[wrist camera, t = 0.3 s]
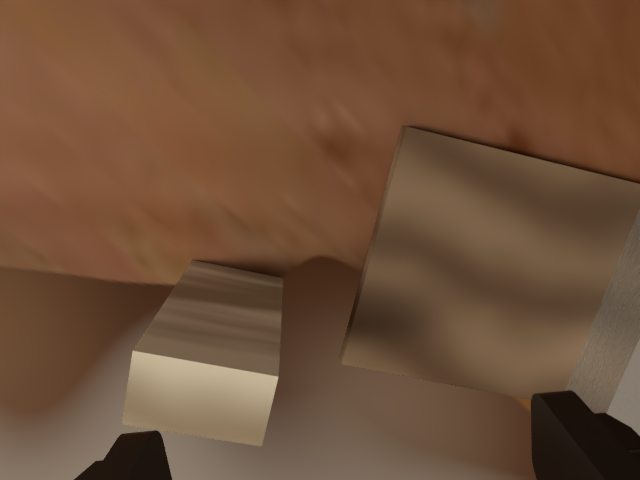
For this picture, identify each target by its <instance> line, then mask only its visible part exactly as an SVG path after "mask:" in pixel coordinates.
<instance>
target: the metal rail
mask: <svg viewBox="0 0 640 480" xmlns="http://www.w3.org/2000/svg"><path fill="white" fill-rule="evenodd" d="M566 390H572V391H574V392H575V393H576V394H577V395H578V396H579V397H580V398H581V400H582V401H583V402H584V403H585V404H586V405H587V406H588V407H589V408H590V409H591V411H592V412H593V413H594V414H595V413H607V414H608V415H610V416H612V417H614V418H615V419H617V420H619V421H621V422H622V423H624V424H626V425H628V426H629V427H631V428H632V429H633V430H634V431H635V432H636V433H637V434H638V435H639V436H640V210H639V213H638V215H637V217H636V220H635V222H634V225H633V227H632V229H631V232H630V234H629V237H628V239H627V242H626V244H625V246H624V249H623V251H622V254H621V256H620V259H619V261H618V263H617V266H616V268H615V271H614V273H613V276H612V278H611V280H610V283H609V285H608V288H607V290H606V293H605V295H604V297H603V300H602V302H601V305H600V307H599V309H598V312H597V314H596V317H595V319H594V322H593V324H592V326H591V329H590V331H589V334H588V336H587V339H586V341H585V343H584V346H583V348H582V351H581V353H580V356H579V358H578V360H577V363H576V365H575V368H574V370H573V373H572V375H571V377H570V380H569V382H568V385H567V387H566V389H565V391H566Z"/></svg>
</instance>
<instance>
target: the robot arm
mask: <svg viewBox="0 0 640 480" xmlns="http://www.w3.org/2000/svg"><path fill="white" fill-rule="evenodd" d="M531 433H532V434H531V435H532V437H531V439H532V463H533V468H534V472H535V475H536V479H537V480H640V436H639V435H638V434H637V433H636V432H635V431H634V430H633V429H632V428H631V427H629V426H628V425H626V424H624V423H622V422H621V421H619V420H617V419H615V418H614V417H612V416H610V415H608V414H607V413H595V414H594V413H593V412H592V411H591V409H590V408H589V407H588V406H587V405H586V404H585V403H584V402H583V401H582V400H581V398H580V397H579V396H578V395H577V394H576V393H575V392H574V391H572V390H566V391H556V392H546V393H536V394H533V396H532V399H531ZM74 480H172V477H171V473H170V469H169V465H168V460H167V456H166V452H165V447H164V443H163V439H162V436H161V434H160V433H159V432H158V431H146V432H136V433H127V434H121V435H120V436H119V437H118V438H117V440H116V442H115V443H114V445H113V446H112V448H111V449H110V451H109V452H108V454H107V455H106V457H105V458H104V460H103V461H95V462H94V463H93V464H92V465H91V466H90V467H88V468H87V469H86V470H85V471H84V472H83V473H81V474H80V475H79V476H78V477H77V478H76V479H74Z"/></svg>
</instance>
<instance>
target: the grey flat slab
mask: <svg viewBox="0 0 640 480" xmlns="http://www.w3.org/2000/svg"><path fill="white" fill-rule="evenodd" d="M639 210H640V184H638V183H634V182H630V181H626V180H622V179H617V178H613V177H609V176H605V175H601V174H597V173H593V172H589V171H585V170H581V169H577V168H573V167H569V166H565V165H561V164H557V163H553V162H549V161H545V160H540V159H536V158H532V157H528V156H524V155H520V154H516V153H512V152H508V151H504V150H500V149H496V148H492V147H488V146H484V145H480V144H476V143H472V142H468V141H464V140H459V139H455V138H451V137H447V136H443V135H439V134H435V133H431V132H427V131H423V130H419V129H415V128H411V127H407V126H402V129H401V132H400V136H399V140H398V143H397V147H396V151H395V154H394V158H393V162H392V165H391V169H390V173H389V176H388V180H387V184H386V187H385V191H384V195H383V198H382V202H381V206H380V209H379V213H378V217H377V220H376V224H375V228H374V231H373V235H372V239H371V242H370V246H369V250H368V253H367V257H366V261H365V264H364V268H363V272H362V275H361V280H360V283H359V287H358V290H357V294H356V298H355V301H354V305H353V309H352V312H351V316H350V320H349V323H348V327H347V331H346V334H345V338H344V342H343V345H342V349H341V353H340V360H341V364H342V365H347V366H352V367H357V368H363V369H369V370H374V371H379V372H385V373H390V374H396V375H401V376H406V377H411V378H417V379H422V380H428V381H433V382H439V383H445V384H450V385H455V386H461V387H466V388H471V389H476V390H483V391H487V392H493V393H498V394H504V395H509V396H514V397H520V398H525V399H532V396H533V394H536V393H546V392H556V391H565V389H566V387H567V385H568V382H569V380H570V377H571V375H572V373H573V370H574V368H575V365H576V363H577V360H578V358H579V356H580V353H581V351H582V348H583V346H584V343H585V341H586V339H587V336H588V334H589V331H590V329H591V326H592V324H593V322H594V319H595V317H596V314H597V312H598V309H599V307H600V305H601V302H602V300H603V297H604V295H605V293H606V290H607V288H608V285H609V283H610V280H611V278H612V276H613V273H614V271H615V268H616V266H617V263H618V261H619V259H620V256H621V254H622V251H623V249H624V246H625V244H626V242H627V239H628V237H629V234H630V232H631V229H632V227H633V225H634V222H635V220H636V217H637V215H638V213H639Z"/></svg>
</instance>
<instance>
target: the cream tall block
mask: <svg viewBox="0 0 640 480" xmlns="http://www.w3.org/2000/svg"><path fill="white" fill-rule="evenodd" d="M283 282H284V278H280V277H275V276H270V275H265V274H260V273H255V272H250V271H245V270H240V269H235V268H230V267H225V266H220V265H216V264H211V263H206V262H201V261H196V260H192V262H191V263H190V265H189V266H188V268H187V269H186V271H185V272H184V274H183V275H182V277H181V278H180V280H179V281H178V283H177V285H176V286H175V288H174V289H173V291H172V292H171V294H170V295H169V297H168V298H167V300H166V301H165V303H164V304H163V306H162V307H161V309H160V310H159V312H158V313H157V315H156V316H155V318H154V320H153V321H152V322H151V324H150V325H149V327H148V328H147V330H146V332H145V333H144V335H143V336H142V338H141V339H140V341H139V342H138V344H137V345H136V347H135V348H134V350H133V353H132V360H131V366H130V373H129V380H128V386H127V393H126V399H125V406H124V413H123V420H122V424H126V425H132V426H138V427H145V428H150V429H157V430H163V431H169V432H175V433H181V434H188V435H194V436H200V437H206V438H212V439H218V440H225V441H231V442H237V443H243V444H250V445H256V446H262V443H263V439H264V435H265V431H266V426H267V422H268V418H269V414H270V410H271V406H272V401H273V397H274V393H275V389H276V385H277V381H278V376H279V357H280V337H281V319H282V318H281V317H282V301H283Z"/></svg>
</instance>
